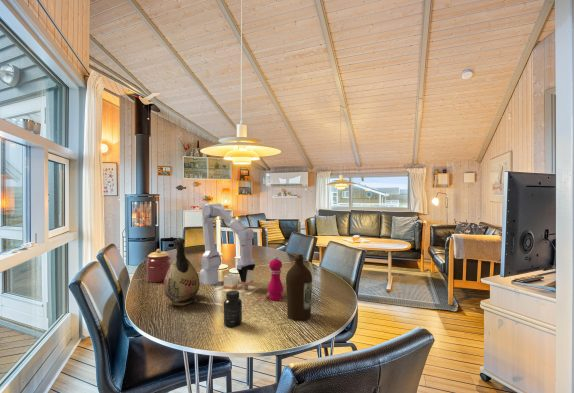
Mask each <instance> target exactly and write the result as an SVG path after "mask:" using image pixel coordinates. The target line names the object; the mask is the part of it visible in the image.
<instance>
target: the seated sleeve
mask: <svg viewBox="0 0 574 393" xmlns="http://www.w3.org/2000/svg"><path fill="white" fill-rule="evenodd" d="M238 277H239V276H238V274H232V273H229V274H226V275H224V276H223V285H224V288H225V289H234V288H236V287H238V282H239V281H238Z"/></svg>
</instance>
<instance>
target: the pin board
mask: <svg viewBox="0 0 574 393" xmlns="http://www.w3.org/2000/svg"><path fill="white" fill-rule="evenodd" d="M259 289H261V286H254V285H243V284H238V287H236V288H234V289H225V288H224V284H222V285H220V286H218V287H216V288H214V290H215V291H221V292H226V293H227V292H228V291H238V292H239V295H240V294H241V295H249V296H250V295H251V294H253V293H254V292H256V291H257V290H259Z"/></svg>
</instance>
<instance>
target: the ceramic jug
mask: <svg viewBox="0 0 574 393" xmlns="http://www.w3.org/2000/svg"><path fill="white" fill-rule="evenodd" d="M185 241H186V240H185V238H183V237H177V238H175V240H174V241H173V244H174V245H175V247H176V255H175V257H174V260H173V262H172V263H171V265H170V268H169V270H168V272H167V274H166V277H165V280H164V281H163V291H164V295H165V296H166V297H167V298H168V299H169V300H170V301H171V303H172V305H174V306H185V305H188V304H191V303H193V302H194V300H195V297H196V295H198V292H199V289H200V286H201V285H200V284H201V283H200V276H199V274H198V272H197V270H196V267H194V266H193V264H192V263H191V262H190V260H189V259H188V258H187V257H186V254H185Z"/></svg>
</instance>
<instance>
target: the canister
mask: <svg viewBox="0 0 574 393" xmlns="http://www.w3.org/2000/svg"><path fill="white" fill-rule="evenodd" d="M170 261H171V257H170V253H169V252H167V251H162V250H161V248H157V249H156V250H155V251H154V252H150V253H149V254H147V258H146V265H145V267H146V281H147V282H149V283H162V282H164V280H165V277H166V274H167V272H168V270H169V268H170V266H171V264H172V263H171V262H170Z"/></svg>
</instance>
